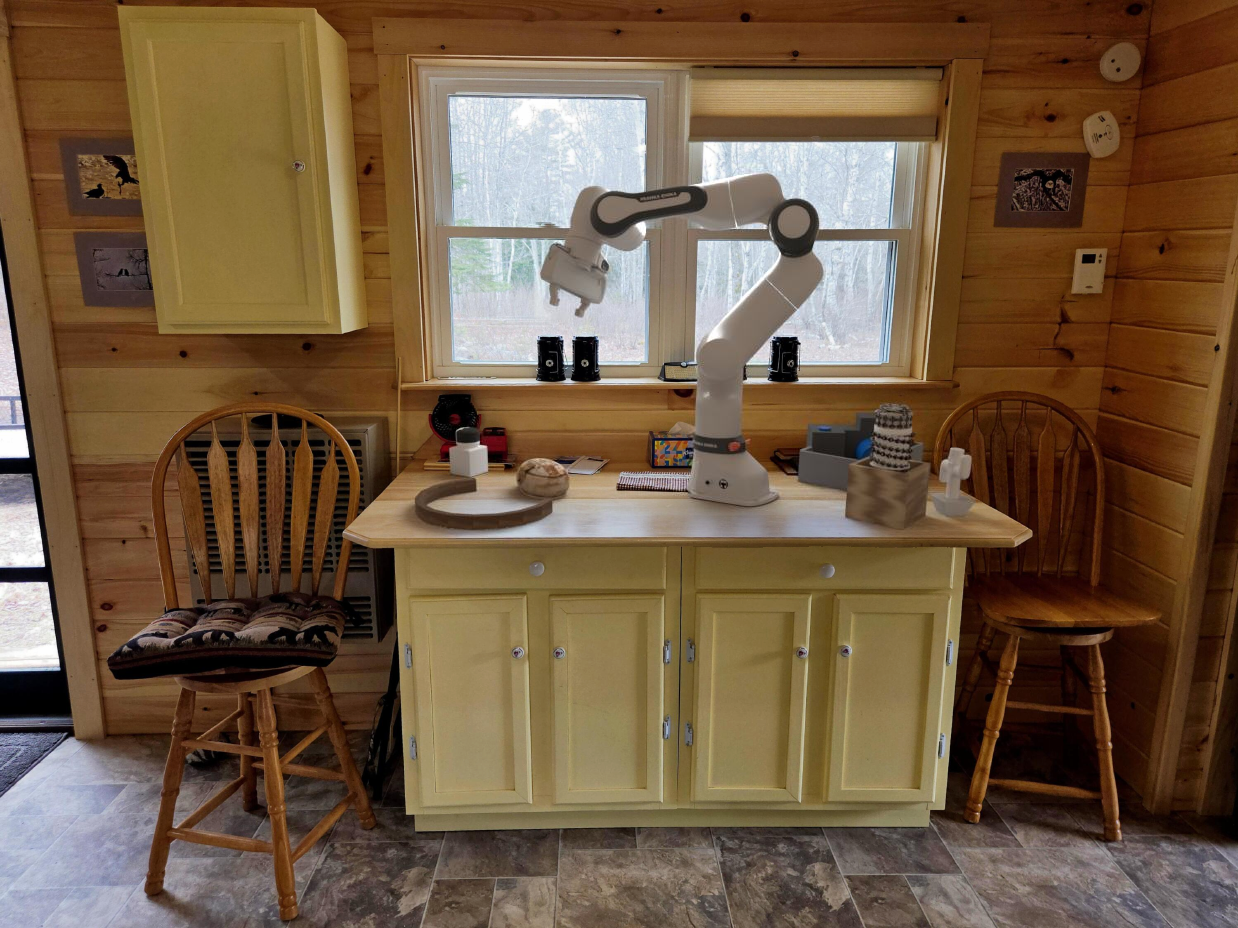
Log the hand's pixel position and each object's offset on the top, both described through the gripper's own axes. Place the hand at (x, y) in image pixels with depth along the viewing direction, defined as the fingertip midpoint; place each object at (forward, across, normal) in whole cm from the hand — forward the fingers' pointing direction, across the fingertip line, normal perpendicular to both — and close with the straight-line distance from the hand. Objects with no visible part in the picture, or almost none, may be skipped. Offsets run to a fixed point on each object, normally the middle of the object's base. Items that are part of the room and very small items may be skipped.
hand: (566, 311), depth 196 cm
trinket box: (+44, +6, -2) cm, 44 cm away
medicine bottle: (+45, +7, +26) cm, 52 cm away
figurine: (+24, +48, -84) cm, 100 cm away
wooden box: (+29, +38, -74) cm, 88 cm away
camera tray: (+20, +65, -56) cm, 88 cm away
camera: (+20, +66, -55) cm, 88 cm away
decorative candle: (+29, +38, -74) cm, 88 cm away
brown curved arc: (+51, -14, -1) cm, 53 cm away
